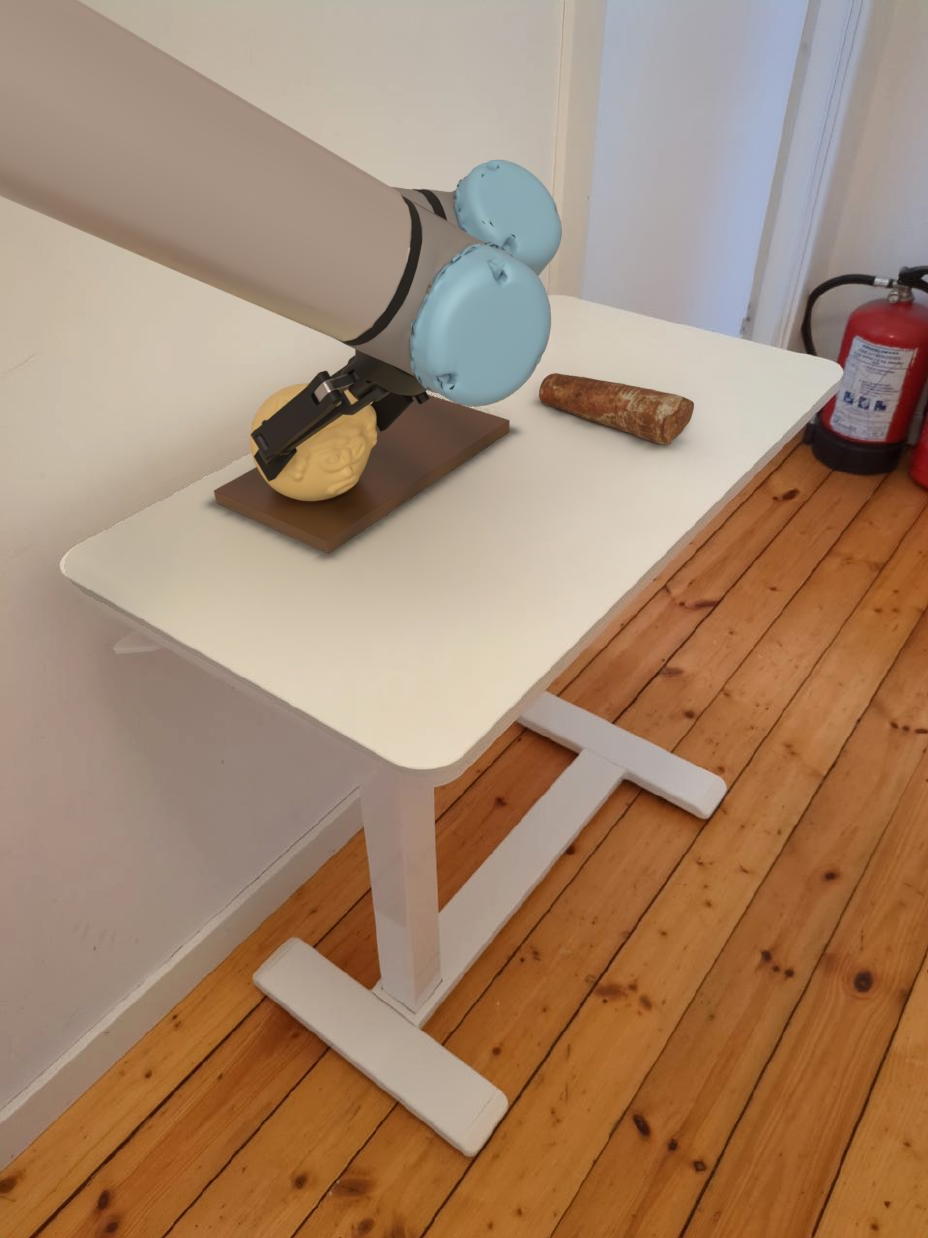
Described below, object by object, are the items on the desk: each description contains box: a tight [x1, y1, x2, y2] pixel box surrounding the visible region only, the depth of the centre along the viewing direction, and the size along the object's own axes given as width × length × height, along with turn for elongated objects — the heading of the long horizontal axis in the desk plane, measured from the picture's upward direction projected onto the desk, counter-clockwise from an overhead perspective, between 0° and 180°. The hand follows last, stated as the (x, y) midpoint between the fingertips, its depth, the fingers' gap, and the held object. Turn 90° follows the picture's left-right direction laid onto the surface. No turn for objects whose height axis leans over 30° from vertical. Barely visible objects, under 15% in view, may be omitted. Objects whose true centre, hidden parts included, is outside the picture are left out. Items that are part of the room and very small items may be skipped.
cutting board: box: [213, 394, 511, 554], centre depth 97 cm, size 30×16×2 cm, turn 143°
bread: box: [538, 372, 695, 445], centre depth 103 cm, size 6×19×6 cm, turn 49°
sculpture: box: [249, 382, 377, 501], centre depth 88 cm, size 12×12×11 cm
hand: (322, 442), depth 87 cm, fingers open, 13 cm apart
